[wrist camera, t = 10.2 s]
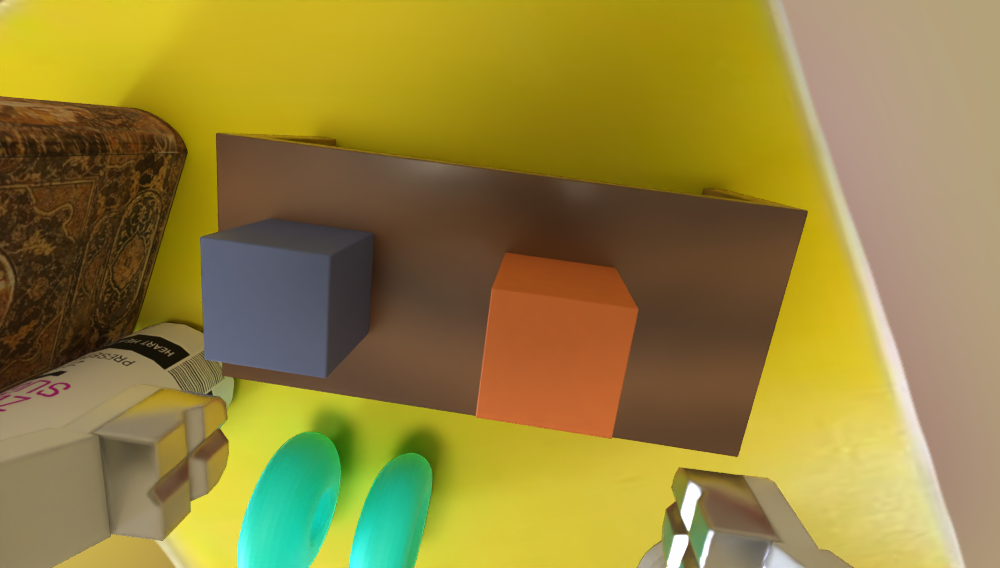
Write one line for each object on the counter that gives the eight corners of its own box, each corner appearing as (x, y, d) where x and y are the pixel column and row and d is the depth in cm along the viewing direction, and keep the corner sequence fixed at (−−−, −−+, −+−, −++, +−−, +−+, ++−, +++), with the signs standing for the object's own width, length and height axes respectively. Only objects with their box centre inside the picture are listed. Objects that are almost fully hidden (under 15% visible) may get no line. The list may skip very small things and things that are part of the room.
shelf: (313, 136, 33) (215, 132, 23) (728, 190, 31) (808, 210, 22) (308, 314, 36) (221, 376, 26) (684, 370, 35) (738, 457, 25)
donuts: (424, 541, 40) (386, 666, 30) (300, 514, 40) (223, 629, 31) (444, 429, 37) (408, 528, 28) (310, 401, 38) (229, 489, 28)
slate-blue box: (269, 217, 24) (199, 236, 19) (374, 232, 24) (330, 255, 19) (269, 318, 25) (203, 360, 20) (368, 334, 25) (326, 379, 20)
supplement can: (199, 441, 39) (-2, 612, 25) (113, 368, 38) (-149, 503, 24) (261, 375, 37) (82, 519, 23) (172, 296, 36) (-73, 395, 22)
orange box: (505, 252, 23) (491, 287, 18) (616, 267, 23) (639, 309, 17) (492, 353, 25) (475, 417, 19) (596, 369, 24) (612, 439, 19)
